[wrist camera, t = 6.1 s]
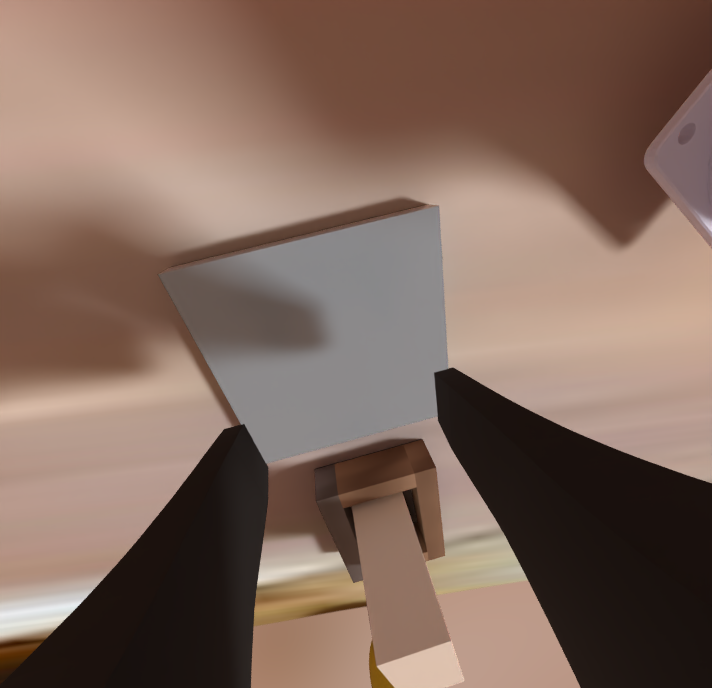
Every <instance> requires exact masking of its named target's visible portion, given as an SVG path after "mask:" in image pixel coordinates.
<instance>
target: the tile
mask: <svg viewBox="0 0 712 688" xmlns="http://www.w3.org/2000/svg"><path fill="white" fill-rule="evenodd" d="M158 276H159V278H160V279H161V281H162V283H163V285H164V287H165V288H166V290H167V292H168V294H169V296H170V297H171V299H172V301H173V303H174V305H175V306H176V308H177V310H178V312H179V314H180V315H181V317H182V319H183V321H184V323H185V324H186V326H187V328H188V330H189V332H190V333H191V335H192V337H193V339H194V341H195V342H196V344H197V346H198V348H199V350H200V351H201V353H202V355H203V357H204V359H205V360H206V362H207V364H208V366H209V368H210V369H211V371H212V373H213V375H214V377H215V378H216V380H217V382H218V384H219V386H220V387H221V389H222V391H223V393H224V395H225V396H226V398H227V400H228V402H229V404H230V405H231V407H232V409H233V411H234V413H235V414H236V416H237V418H238V420H239V422H240V423H241V425H242V424H245V426H246V428H247V430H248V432H249V433H250V435H251V437H252V439H253V441H254V443H255V444H256V446H257V448H258V450H259V452H260V453H261V455H262V457H263V459H264V461H265V463H266V464H267V463H271V462H274V461H278V460H282V459H285V458H289V457H292V456H296V455H300V454H303V453H307V452H311V451H314V450H318V449H321V448H325V447H329V446H332V445H336V444H339V443H343V442H347V441H350V440H354V439H358V438H361V437H365V436H368V435H372V434H376V433H379V432H383V431H386V430H390V429H394V428H397V427H401V426H405V425H408V424H412V423H415V422H419V421H423V420H426V419H430V418H433V417H437V416H438V413H437V401H436V390H435V378H434V372H438V371H442V370H446V369H448V354H447V336H446V319H445V301H444V283H443V265H442V247H441V230H440V212H439V206H438V205H429V204H428V205H424V206H420V207H416V208H412V209H408V210H403V211H399V212H395V213H391V214H387V215H383V216H379V217H375V218H371V219H367V220H363V221H358V222H354V223H350V224H346V225H342V226H338V227H334V228H330V229H326V230H322V231H317V232H313V233H309V234H305V235H301V236H297V237H293V238H289V239H285V240H281V241H277V242H272V243H268V244H264V245H260V246H256V247H252V248H248V249H244V250H240V251H236V252H231V253H227V254H223V255H219V256H215V257H211V258H207V259H203V260H199V261H195V262H191V263H186V264H182V265H178V266H174V267H170V268H168V269H166V270H165V271H163V272H161V273H159V274H158Z"/></svg>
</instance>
